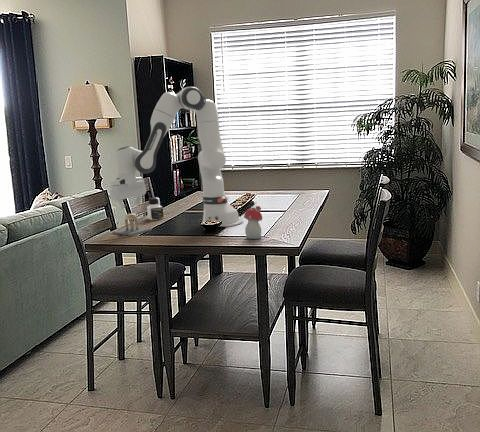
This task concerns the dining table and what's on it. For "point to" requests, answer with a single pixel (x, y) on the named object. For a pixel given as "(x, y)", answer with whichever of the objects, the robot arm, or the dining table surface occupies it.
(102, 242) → the dining table surface
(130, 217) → the mini stool
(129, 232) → the mat
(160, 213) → the medicine bottle
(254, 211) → the decorative ornament
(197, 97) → the robot arm
